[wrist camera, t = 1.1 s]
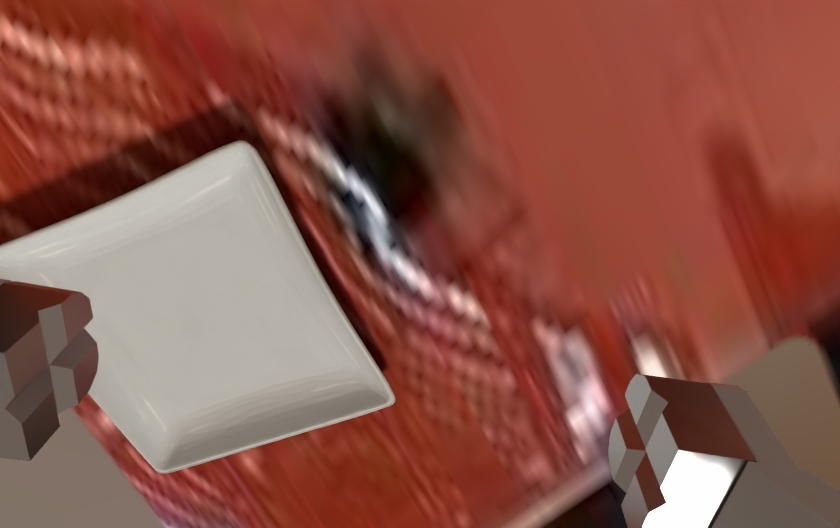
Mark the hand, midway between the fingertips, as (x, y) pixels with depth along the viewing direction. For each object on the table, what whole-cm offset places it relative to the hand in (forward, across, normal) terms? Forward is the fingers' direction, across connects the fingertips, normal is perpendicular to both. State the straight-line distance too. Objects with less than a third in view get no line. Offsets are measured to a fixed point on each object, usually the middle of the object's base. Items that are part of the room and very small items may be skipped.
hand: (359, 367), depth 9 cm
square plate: (+38, +17, +27) cm, 50 cm away
